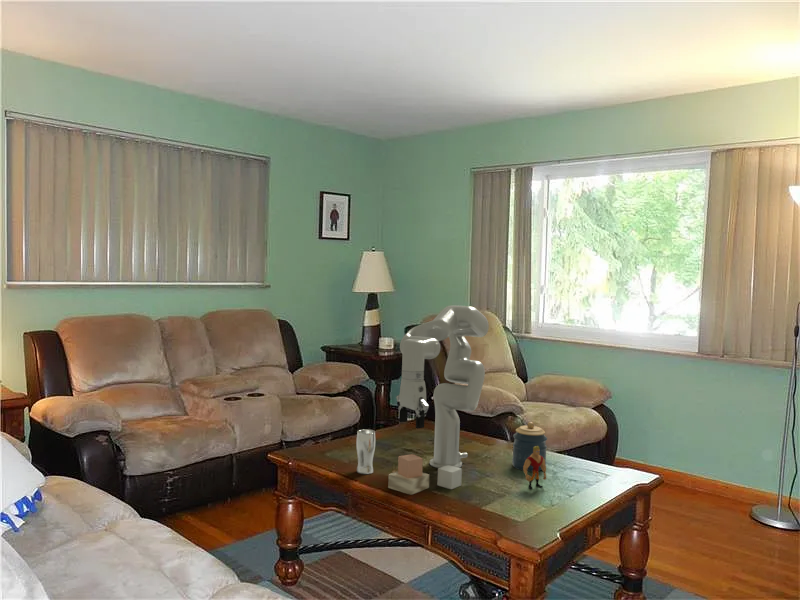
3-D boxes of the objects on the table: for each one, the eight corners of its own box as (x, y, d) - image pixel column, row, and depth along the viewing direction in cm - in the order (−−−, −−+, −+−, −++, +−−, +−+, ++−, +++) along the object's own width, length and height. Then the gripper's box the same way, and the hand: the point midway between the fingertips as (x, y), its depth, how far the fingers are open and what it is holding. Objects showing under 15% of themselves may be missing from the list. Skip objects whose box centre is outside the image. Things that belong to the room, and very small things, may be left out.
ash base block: (406, 481, 227) (406, 468, 227) (428, 488, 221) (429, 474, 221) (388, 488, 219) (388, 474, 219) (411, 495, 213) (411, 481, 213)
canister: (526, 473, 240) (528, 427, 239) (505, 464, 251) (507, 419, 250) (553, 469, 246) (555, 424, 245) (531, 460, 257) (532, 417, 257)
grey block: (447, 481, 228) (447, 464, 228) (461, 485, 224) (461, 468, 224) (437, 485, 224) (438, 468, 223) (451, 489, 220) (452, 472, 220)
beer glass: (371, 475, 232) (373, 434, 231) (353, 473, 233) (354, 433, 232) (376, 469, 238) (377, 430, 238) (358, 468, 240) (359, 428, 239)
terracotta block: (412, 470, 224) (412, 454, 224) (422, 475, 219) (422, 458, 219) (397, 473, 220) (398, 456, 220) (407, 478, 216) (408, 460, 215)
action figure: (526, 490, 221) (528, 447, 220) (520, 487, 224) (522, 445, 224) (549, 487, 225) (551, 445, 224) (542, 484, 228) (544, 443, 228)
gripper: (437, 378, 213) (435, 429, 214) (406, 370, 228) (405, 418, 229) (419, 380, 209) (417, 432, 210) (389, 372, 223) (388, 420, 224)
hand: (411, 424), depth 219 cm, fingers open, 9 cm apart
